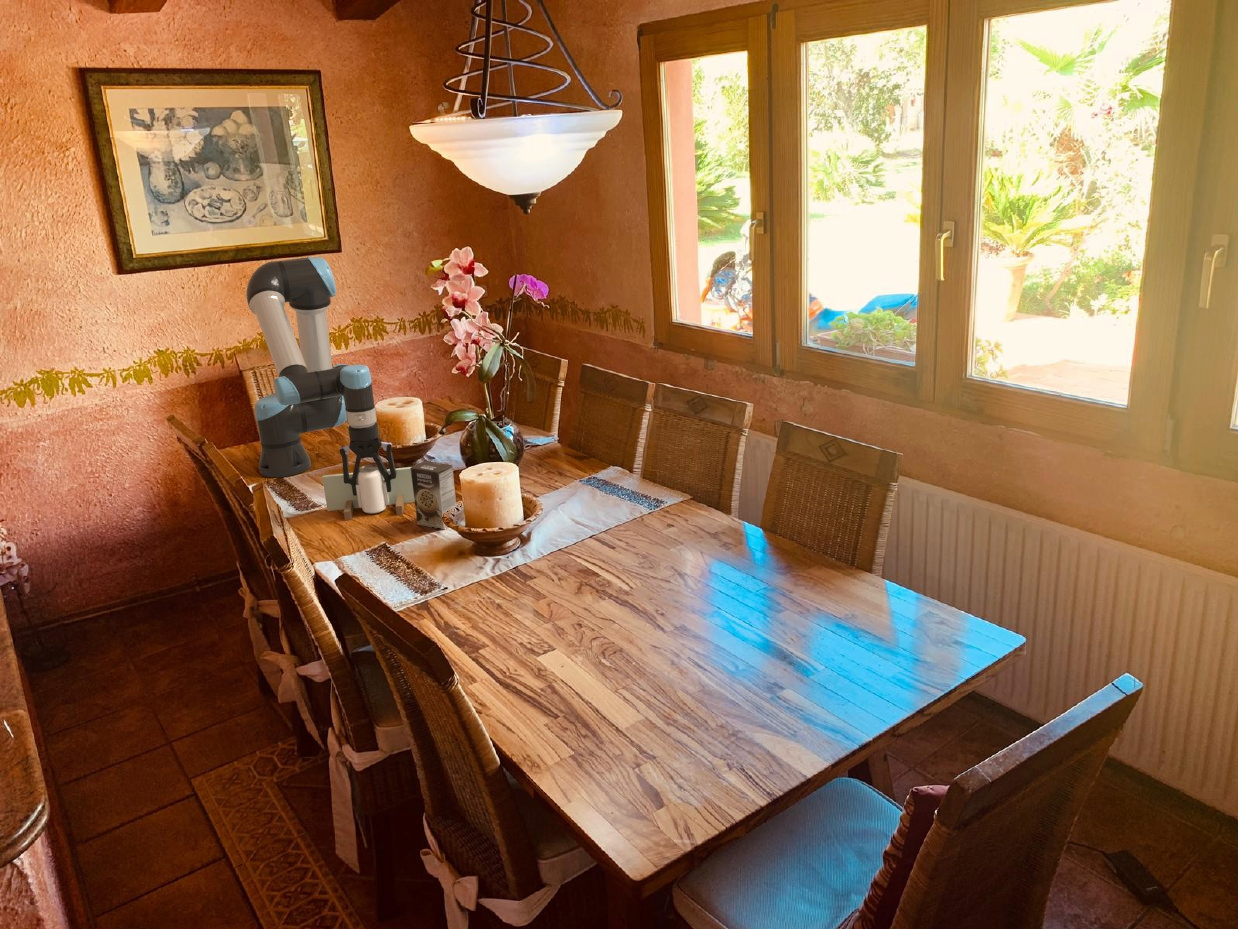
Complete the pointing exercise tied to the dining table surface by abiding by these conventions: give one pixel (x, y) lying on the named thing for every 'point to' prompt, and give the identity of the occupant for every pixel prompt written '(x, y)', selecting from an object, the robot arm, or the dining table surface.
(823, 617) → the dining table surface
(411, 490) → the wall board
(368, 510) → the can
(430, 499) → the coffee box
